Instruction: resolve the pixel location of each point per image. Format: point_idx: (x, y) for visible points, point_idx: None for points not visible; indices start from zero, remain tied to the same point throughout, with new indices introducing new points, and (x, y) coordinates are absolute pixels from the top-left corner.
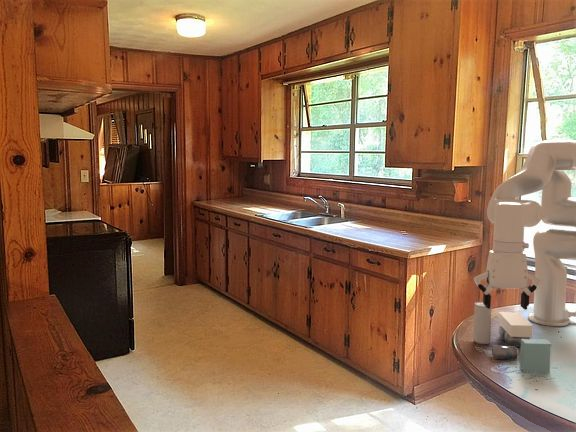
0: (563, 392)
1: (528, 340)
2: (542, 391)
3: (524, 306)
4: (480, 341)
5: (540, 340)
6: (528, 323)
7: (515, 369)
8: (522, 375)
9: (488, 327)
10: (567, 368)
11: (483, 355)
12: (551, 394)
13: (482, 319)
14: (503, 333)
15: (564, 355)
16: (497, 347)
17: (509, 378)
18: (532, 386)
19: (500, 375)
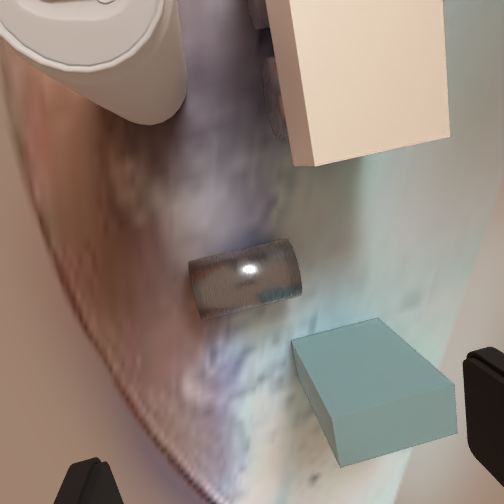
0: (385, 469)
1: (364, 425)
2: (329, 485)
3: (492, 473)
4: (134, 122)
5: (422, 405)
6: (434, 94)
7: (272, 361)
8: (289, 401)
9: (168, 97)
10: (452, 293)
11: (154, 265)
12: (350, 492)
13: (112, 103)
14: (263, 21)
15: (484, 163)
16: (213, 306)
17: (243, 438)
18: (307, 465)
19: (215, 427)
